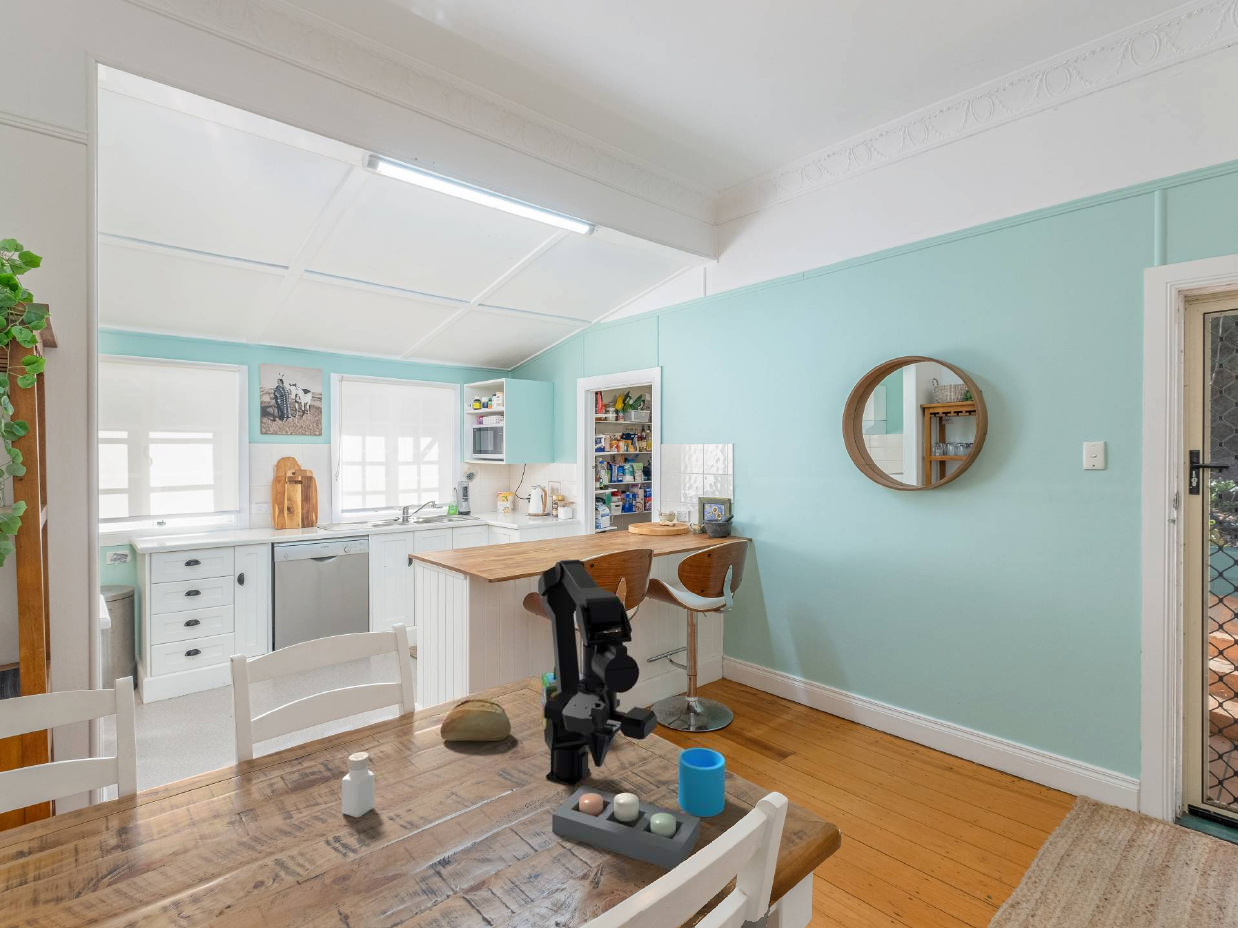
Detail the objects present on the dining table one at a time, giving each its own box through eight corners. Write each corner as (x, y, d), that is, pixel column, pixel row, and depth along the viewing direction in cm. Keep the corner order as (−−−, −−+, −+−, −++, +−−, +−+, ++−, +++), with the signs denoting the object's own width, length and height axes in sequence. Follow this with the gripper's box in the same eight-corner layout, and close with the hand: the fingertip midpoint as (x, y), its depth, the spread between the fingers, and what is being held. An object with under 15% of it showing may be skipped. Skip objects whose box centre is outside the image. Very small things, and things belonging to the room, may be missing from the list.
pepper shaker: (375, 808, 109) (376, 753, 109) (357, 819, 105) (357, 763, 105) (358, 802, 111) (359, 748, 111) (340, 814, 107) (340, 758, 107)
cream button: (609, 817, 101) (609, 802, 101) (620, 805, 105) (620, 790, 105) (632, 823, 100) (632, 808, 100) (642, 811, 103) (642, 796, 103)
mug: (730, 815, 108) (730, 768, 108) (684, 818, 107) (684, 770, 107) (711, 780, 120) (712, 737, 120) (669, 782, 119) (670, 739, 119)
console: (552, 832, 103) (552, 813, 103) (582, 802, 112) (582, 785, 112) (678, 872, 93) (678, 852, 93) (700, 836, 102) (700, 818, 102)
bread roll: (442, 731, 140) (443, 695, 140) (510, 727, 143) (511, 692, 143) (438, 751, 131) (438, 713, 131) (510, 746, 133) (511, 708, 133)
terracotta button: (574, 816, 104) (574, 802, 104) (586, 804, 108) (586, 791, 108) (596, 823, 102) (596, 808, 102) (607, 810, 106) (607, 796, 106)
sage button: (646, 838, 98) (646, 823, 98) (656, 825, 102) (656, 810, 102) (670, 845, 97) (670, 829, 97) (679, 831, 100) (679, 816, 100)
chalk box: (579, 718, 148) (580, 655, 148) (586, 734, 139) (587, 668, 139) (540, 721, 146) (541, 658, 146) (545, 738, 137) (545, 671, 137)
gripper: (525, 677, 101) (524, 774, 101) (629, 697, 93) (628, 803, 93) (561, 658, 111) (560, 746, 111) (658, 675, 103) (657, 770, 103)
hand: (598, 765), depth 104 cm, fingers closed
